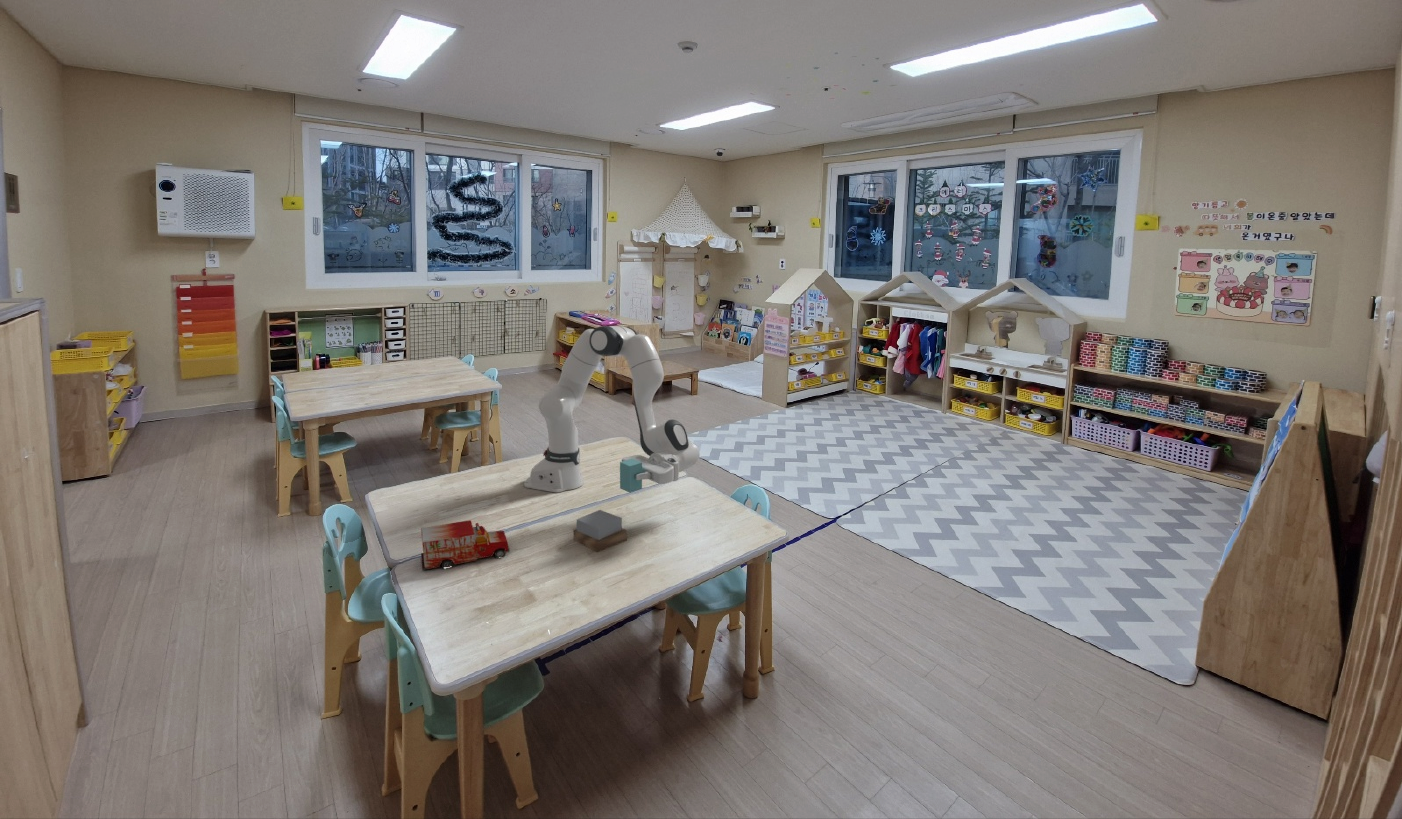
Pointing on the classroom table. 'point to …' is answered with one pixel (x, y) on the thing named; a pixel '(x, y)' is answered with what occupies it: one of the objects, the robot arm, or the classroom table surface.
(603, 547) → the walnut slab
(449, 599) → the classroom table surface
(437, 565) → the red box-shaped vehicle
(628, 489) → the teal column
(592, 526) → the grey slab
